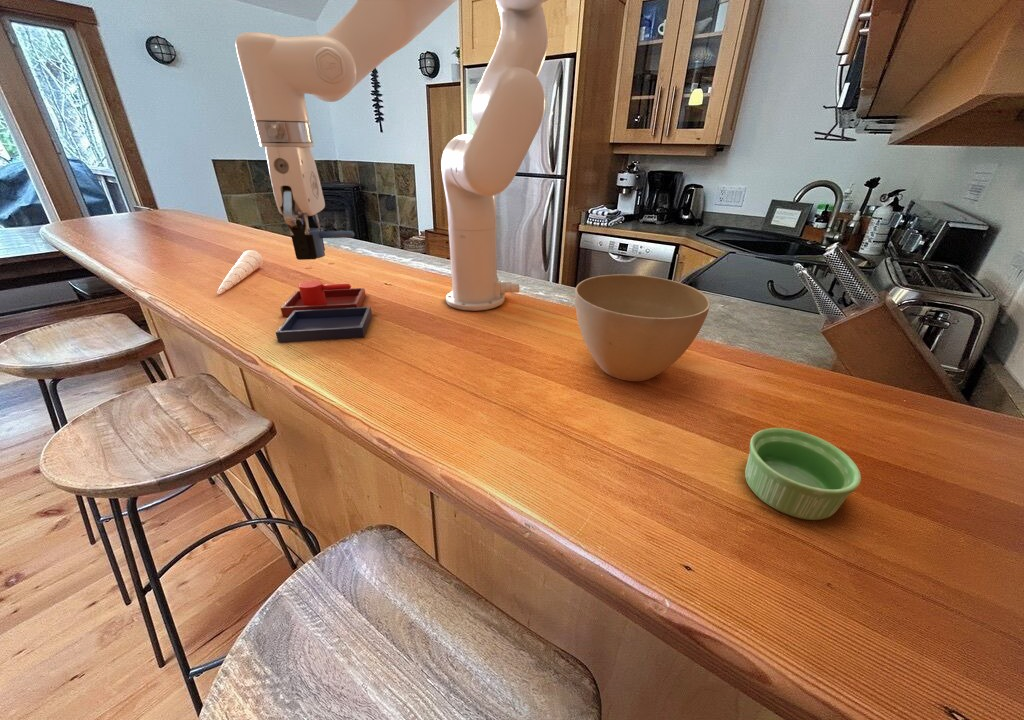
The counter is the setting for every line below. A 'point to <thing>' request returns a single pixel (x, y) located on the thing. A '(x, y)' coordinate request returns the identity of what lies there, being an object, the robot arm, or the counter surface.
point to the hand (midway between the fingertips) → (311, 254)
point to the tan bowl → (638, 322)
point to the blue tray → (325, 324)
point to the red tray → (333, 299)
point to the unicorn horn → (241, 269)
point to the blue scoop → (327, 234)
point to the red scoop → (317, 292)
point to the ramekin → (799, 473)
